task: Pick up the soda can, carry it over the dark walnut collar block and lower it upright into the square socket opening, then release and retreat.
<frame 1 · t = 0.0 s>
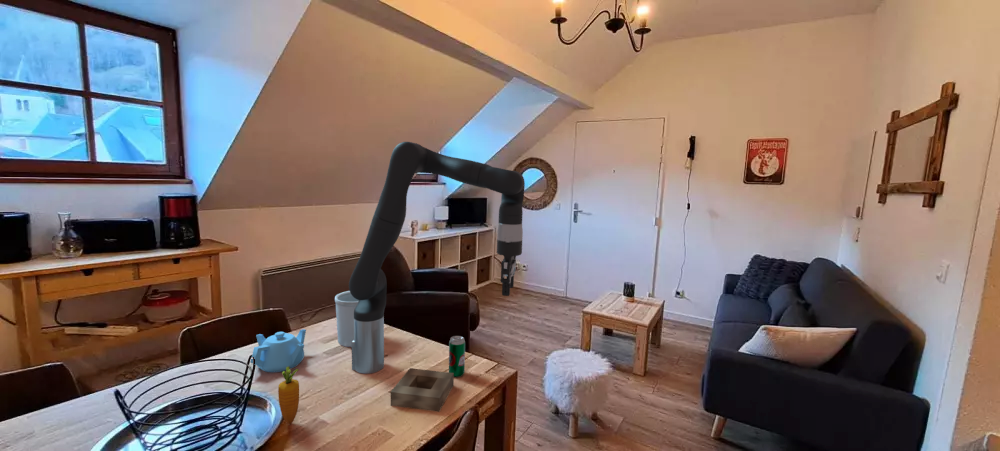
hand: (507, 291, 122), 29 cm above the table, fingers open, 8 cm apart
carrot: (290, 424, 102), on the table
utensil holder: (356, 340, 153), on the table
soda can: (456, 374, 130), on the table
teapot: (281, 364, 133), on the table
socket block: (423, 395, 117), on the table
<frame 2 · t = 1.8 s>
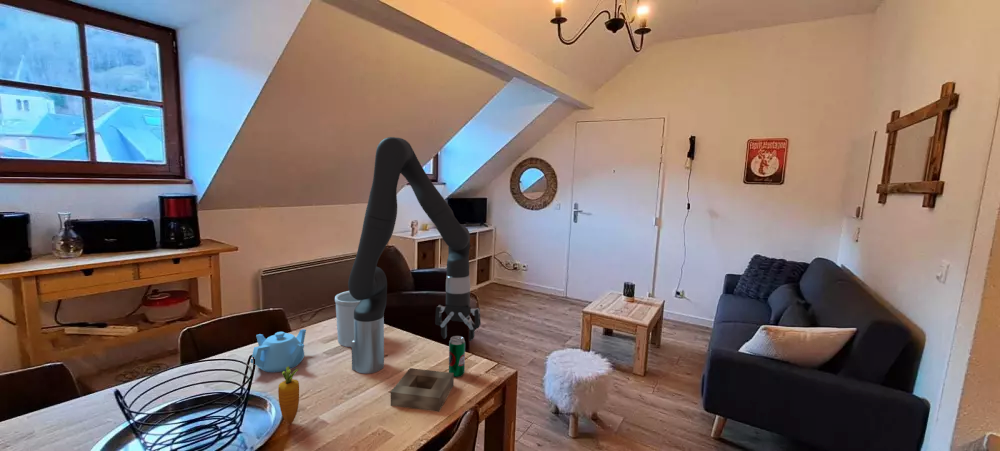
hand: (457, 338, 128), 12 cm above the table, fingers open, 8 cm apart
nothing on the table moved.
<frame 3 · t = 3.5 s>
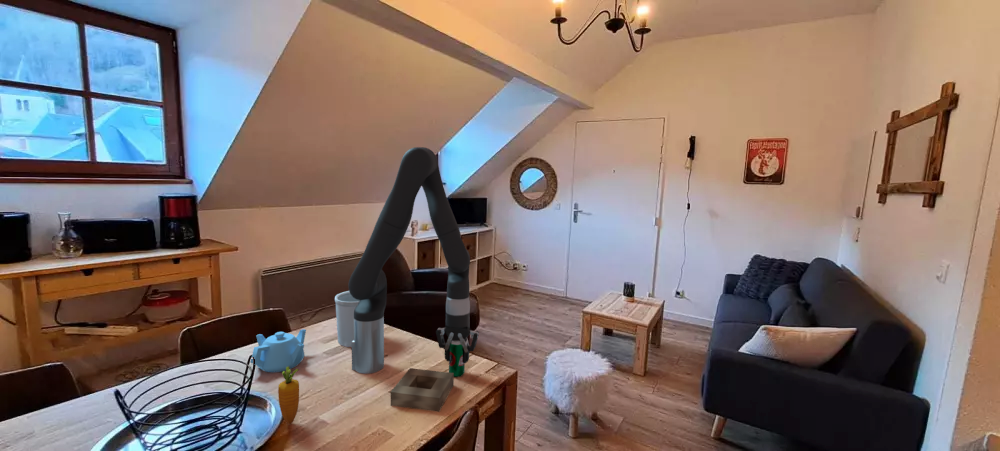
hand: (456, 361, 129), 4 cm above the table, fingers closed on soda can, 5 cm apart
soda can: (456, 374, 130), on the table, touching gripper
everything else where it was.
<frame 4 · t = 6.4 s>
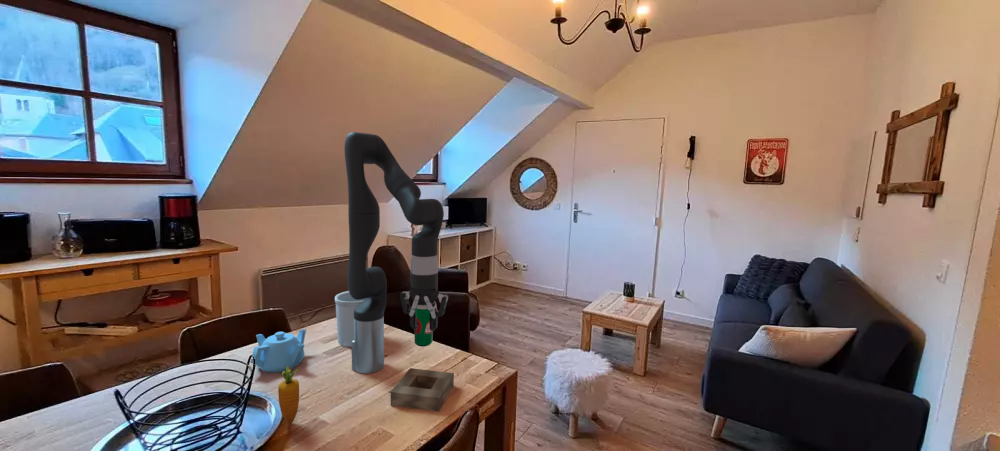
hand: (423, 328, 114), 20 cm above the table, fingers closed on soda can, 5 cm apart
soda can: (423, 344, 115), point 15 cm above the table, touching gripper
everything else where it was.
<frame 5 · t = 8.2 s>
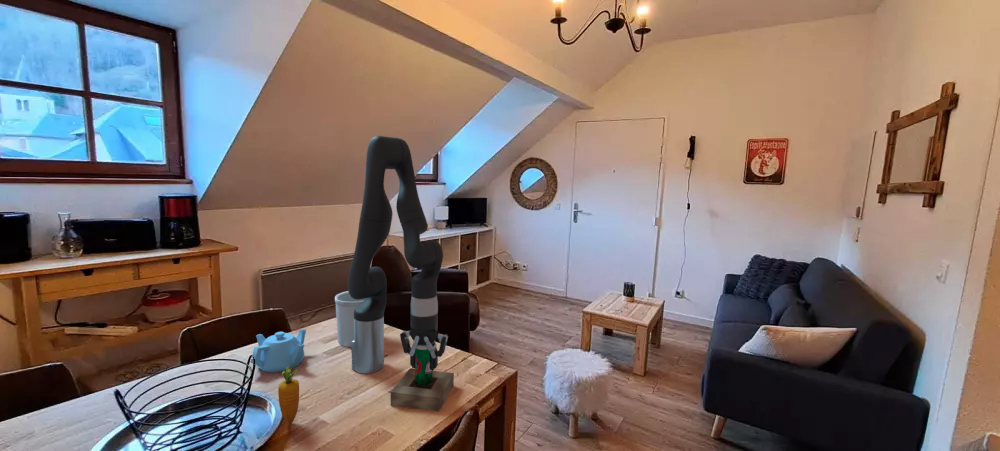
hand: (424, 367, 116), 8 cm above the table, fingers closed on soda can, 5 cm apart
soda can: (423, 383, 116), point 4 cm above the table, touching gripper
everything else where it was.
when the fingers open (6 cm above the table, at t = 9.7 s): soda can drops 1 cm, resting in socket block.
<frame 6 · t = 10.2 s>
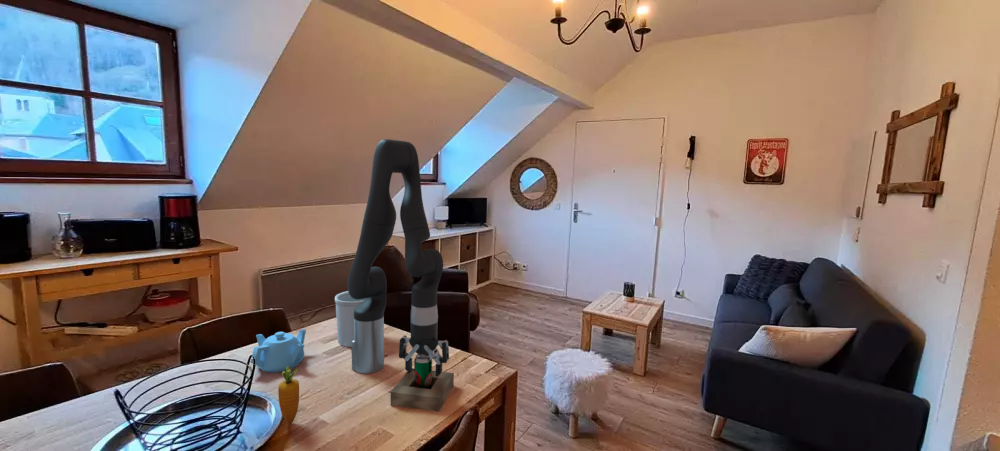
hand: (423, 373, 116), 7 cm above the table, fingers open, 8 cm apart
soda can: (423, 395, 117), resting in socket block
everything else where it was.
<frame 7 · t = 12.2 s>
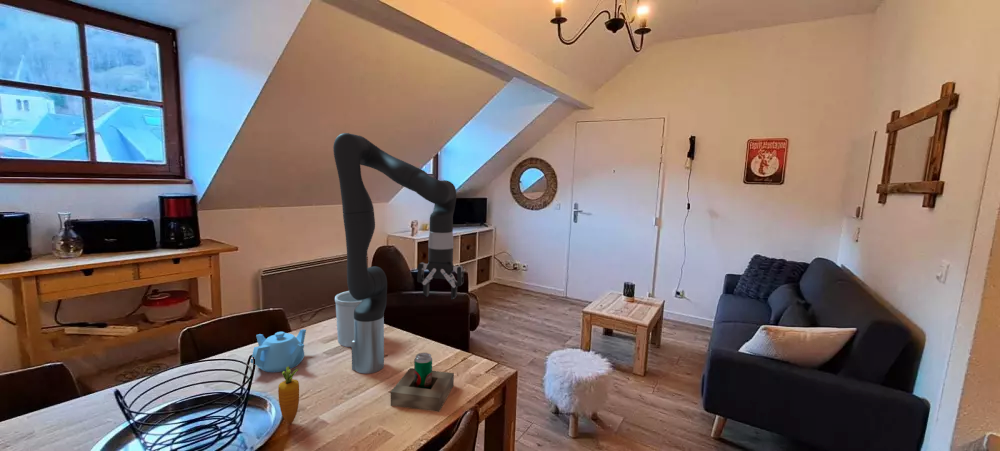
hand: (440, 297, 125), 26 cm above the table, fingers open, 8 cm apart
nothing on the table moved.
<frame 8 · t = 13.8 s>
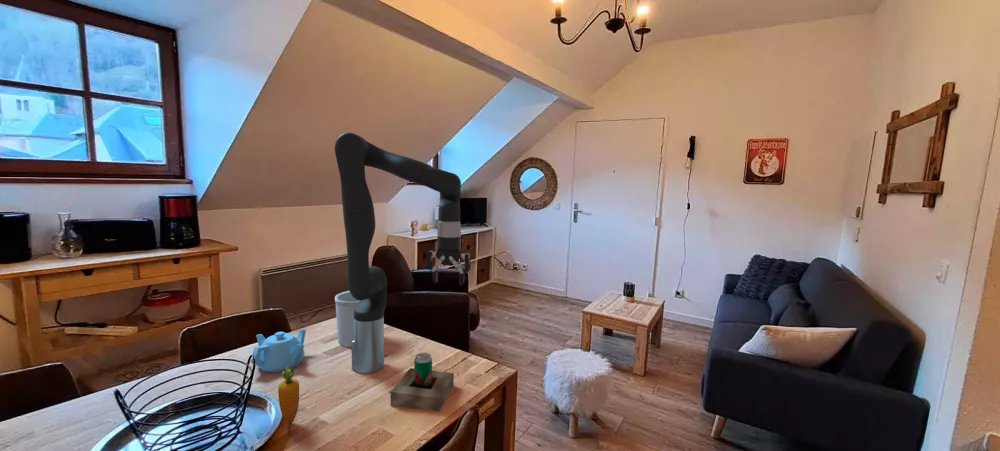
hand: (448, 283, 133), 28 cm above the table, fingers open, 8 cm apart
nothing on the table moved.
at the end: soda can 0.2 cm off-centre on the socket block, point 0.0 cm above the socket block's base; soda can tilted 0°; the gripper is holding nothing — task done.
